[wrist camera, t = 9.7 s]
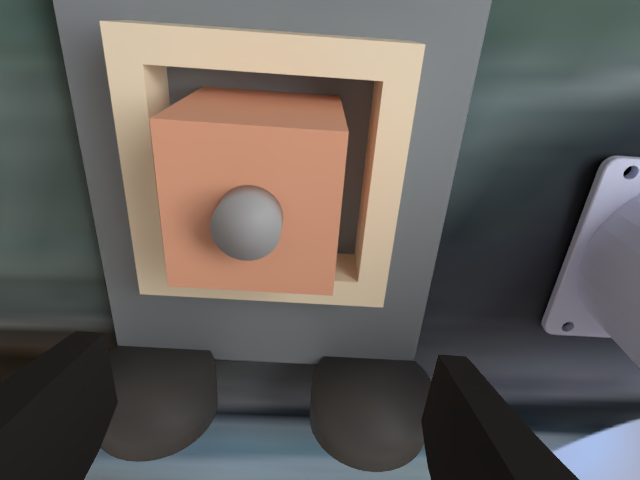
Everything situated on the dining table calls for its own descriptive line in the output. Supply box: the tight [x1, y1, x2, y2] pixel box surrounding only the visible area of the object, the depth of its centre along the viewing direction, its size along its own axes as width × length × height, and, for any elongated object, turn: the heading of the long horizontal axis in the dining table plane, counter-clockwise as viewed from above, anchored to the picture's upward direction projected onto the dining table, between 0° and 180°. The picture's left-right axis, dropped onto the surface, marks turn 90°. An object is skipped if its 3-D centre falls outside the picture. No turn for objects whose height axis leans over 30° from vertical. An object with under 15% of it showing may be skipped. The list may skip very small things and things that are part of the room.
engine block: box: [149, 86, 349, 296], centre depth 12 cm, size 4×4×6 cm
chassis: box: [53, 0, 492, 472], centre depth 14 cm, size 14×21×5 cm, turn 176°
